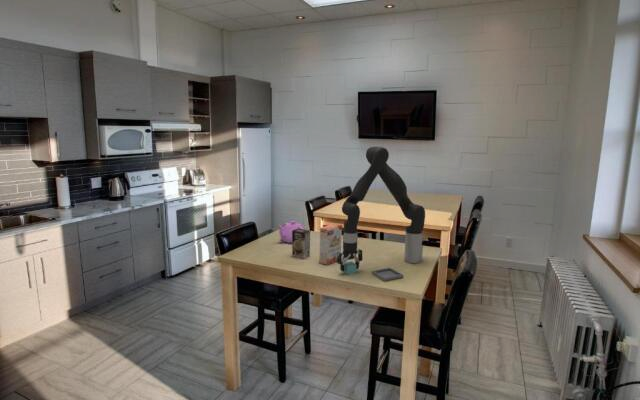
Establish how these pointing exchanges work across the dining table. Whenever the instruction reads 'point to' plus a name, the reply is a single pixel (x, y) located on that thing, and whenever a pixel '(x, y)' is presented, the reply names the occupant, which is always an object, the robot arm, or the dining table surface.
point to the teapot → (288, 230)
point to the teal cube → (349, 268)
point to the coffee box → (301, 243)
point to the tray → (387, 274)
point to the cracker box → (330, 243)
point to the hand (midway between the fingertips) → (349, 269)
